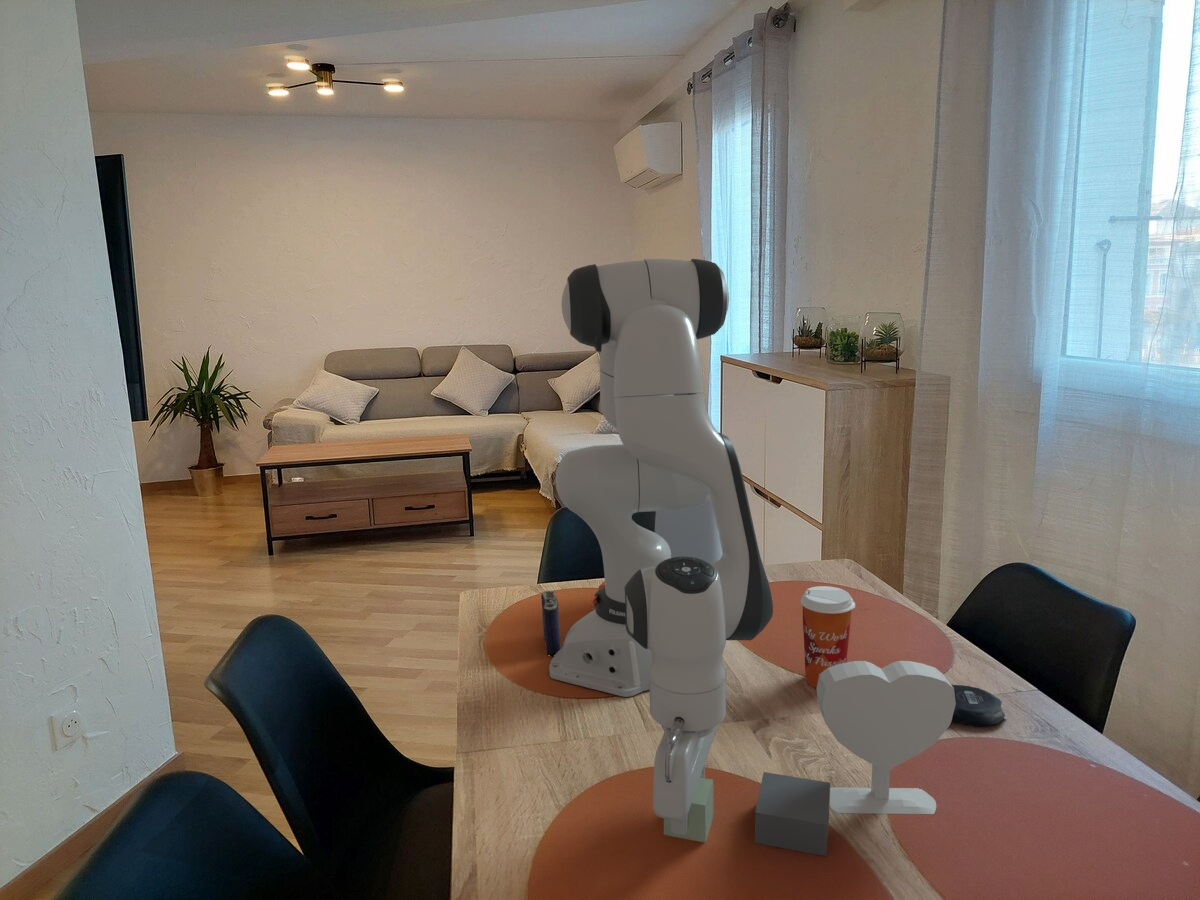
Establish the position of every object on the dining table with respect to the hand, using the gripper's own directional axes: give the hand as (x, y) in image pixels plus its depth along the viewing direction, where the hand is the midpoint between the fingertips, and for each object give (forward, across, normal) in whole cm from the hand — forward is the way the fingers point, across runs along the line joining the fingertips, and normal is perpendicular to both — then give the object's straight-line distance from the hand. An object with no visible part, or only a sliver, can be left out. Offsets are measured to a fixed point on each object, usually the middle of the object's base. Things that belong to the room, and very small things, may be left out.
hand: (688, 804), depth 94 cm
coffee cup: (+3, +40, -14) cm, 43 cm away
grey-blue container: (+3, +65, +13) cm, 67 cm away
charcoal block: (+3, +3, -12) cm, 13 cm away
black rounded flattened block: (+3, +36, -32) cm, 48 cm away
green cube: (+3, 0, 0) cm, 3 cm away
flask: (+3, +41, +34) cm, 54 cm away
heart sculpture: (+3, +11, -22) cm, 25 cm away
